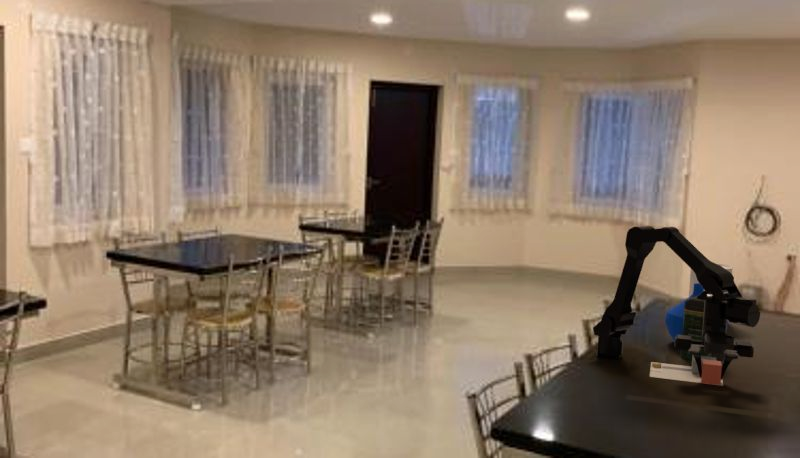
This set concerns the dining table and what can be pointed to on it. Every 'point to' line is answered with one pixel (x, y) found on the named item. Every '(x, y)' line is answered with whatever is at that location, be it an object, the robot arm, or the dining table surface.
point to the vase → (680, 314)
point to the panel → (675, 372)
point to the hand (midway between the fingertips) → (710, 378)
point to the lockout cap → (711, 372)
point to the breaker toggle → (694, 364)
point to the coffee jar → (693, 324)
